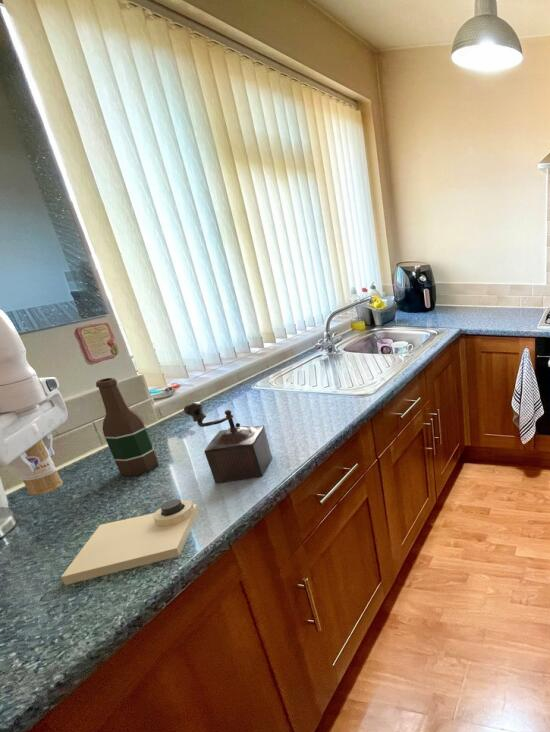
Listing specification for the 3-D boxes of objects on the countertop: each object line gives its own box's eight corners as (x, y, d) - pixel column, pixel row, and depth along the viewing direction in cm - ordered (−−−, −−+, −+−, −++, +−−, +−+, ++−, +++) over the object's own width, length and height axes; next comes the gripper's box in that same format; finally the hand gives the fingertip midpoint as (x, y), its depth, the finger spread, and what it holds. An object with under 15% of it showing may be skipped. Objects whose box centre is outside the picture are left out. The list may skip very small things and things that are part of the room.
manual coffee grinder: (274, 454, 108) (258, 392, 101) (263, 477, 98) (244, 410, 91) (207, 463, 104) (185, 399, 97) (188, 488, 94) (163, 419, 87)
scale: (64, 585, 68) (56, 569, 67) (103, 532, 80) (96, 518, 79) (180, 556, 74) (174, 541, 73) (199, 510, 86) (195, 497, 85)
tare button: (160, 518, 80) (158, 510, 79) (166, 508, 82) (163, 501, 82) (180, 513, 81) (177, 506, 80) (185, 504, 83) (182, 497, 83)
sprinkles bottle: (33, 499, 73) (-1, 434, 68) (25, 491, 75) (-8, 427, 70) (68, 486, 77) (38, 423, 72) (59, 478, 79) (30, 417, 74)
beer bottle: (130, 462, 104) (94, 376, 95) (166, 457, 106) (134, 372, 98) (113, 479, 97) (72, 387, 89) (151, 473, 99) (116, 383, 91)
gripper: (-12, 417, 62) (26, 492, 67) (62, 375, 79) (88, 437, 84) (-72, 424, 59) (-28, 502, 64) (17, 379, 77) (47, 443, 82)
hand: (38, 465), depth 74 cm, fingers closed on sprinkles bottle, 4 cm apart
